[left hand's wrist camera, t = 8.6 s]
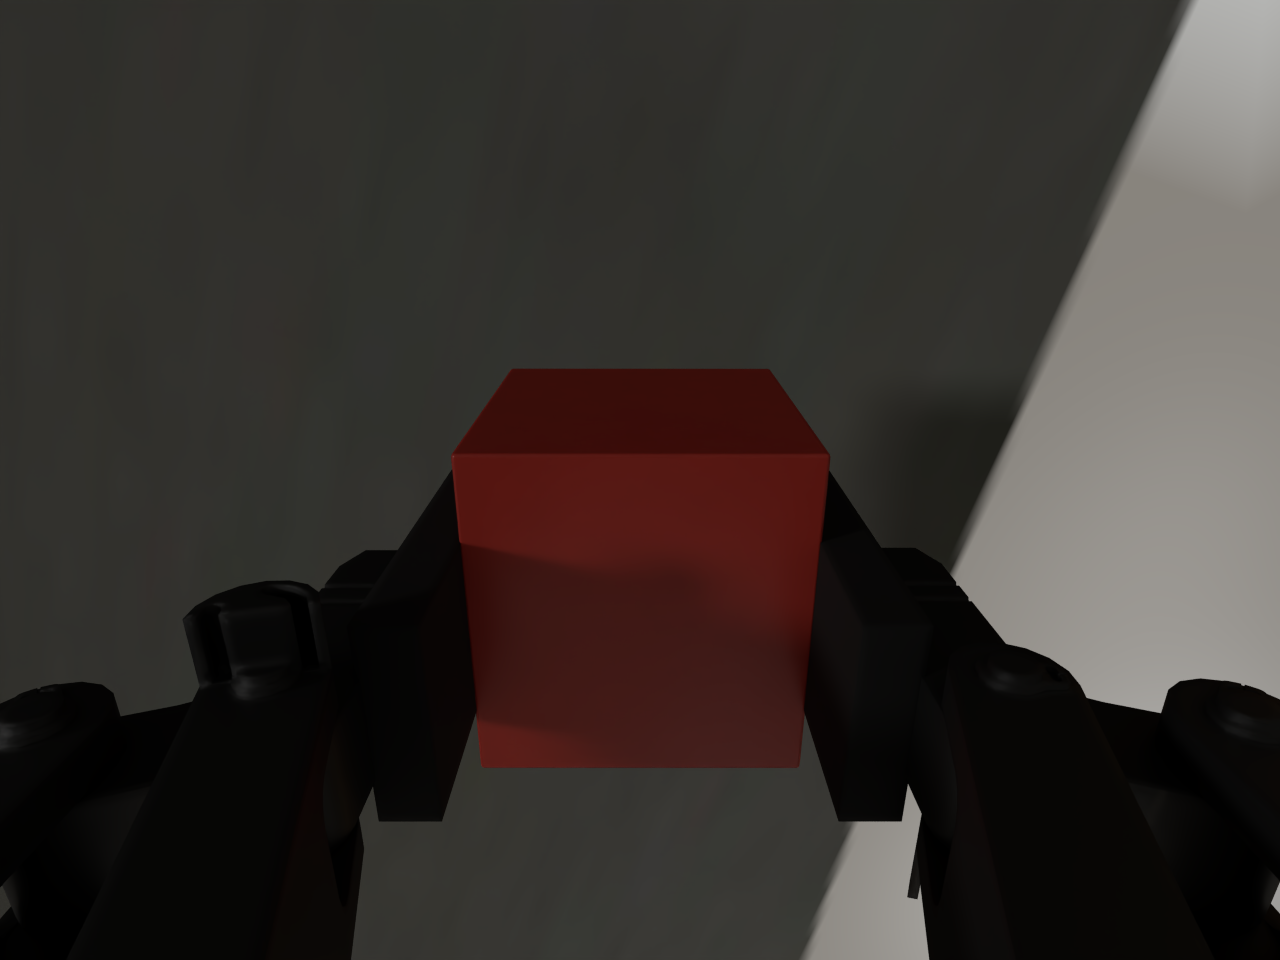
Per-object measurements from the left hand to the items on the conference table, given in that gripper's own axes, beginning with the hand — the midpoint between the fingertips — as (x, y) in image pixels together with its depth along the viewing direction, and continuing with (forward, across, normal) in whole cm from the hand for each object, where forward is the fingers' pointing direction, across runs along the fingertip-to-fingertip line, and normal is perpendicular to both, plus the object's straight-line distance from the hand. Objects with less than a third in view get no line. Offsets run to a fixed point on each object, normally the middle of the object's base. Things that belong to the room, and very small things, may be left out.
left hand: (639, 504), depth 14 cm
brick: (0, 0, 0) cm, 0 cm away
